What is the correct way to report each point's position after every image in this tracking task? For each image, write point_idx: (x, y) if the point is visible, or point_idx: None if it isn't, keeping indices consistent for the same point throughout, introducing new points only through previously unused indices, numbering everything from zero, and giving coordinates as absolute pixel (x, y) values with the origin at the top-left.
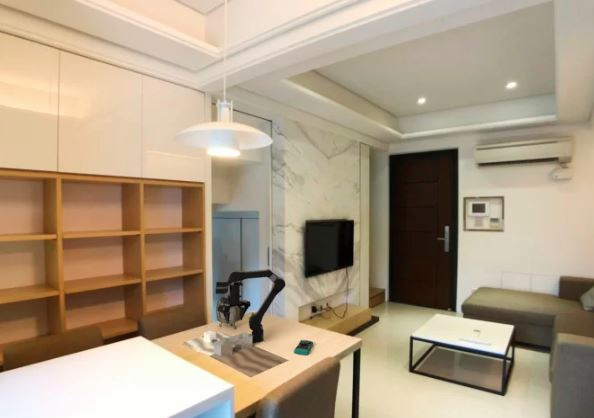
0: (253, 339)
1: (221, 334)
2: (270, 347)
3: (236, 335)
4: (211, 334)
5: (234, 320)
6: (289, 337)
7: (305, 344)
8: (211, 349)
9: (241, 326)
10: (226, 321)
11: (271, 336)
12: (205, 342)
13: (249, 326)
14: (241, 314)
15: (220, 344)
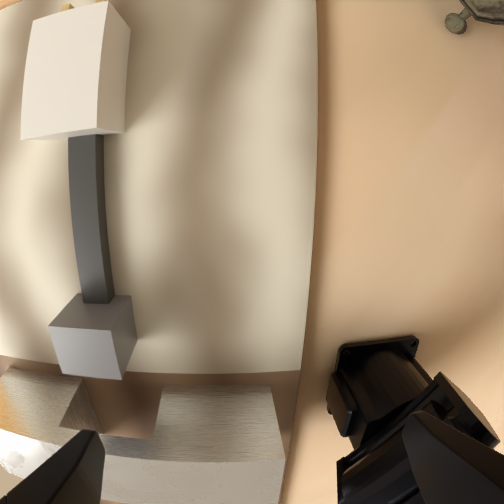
0: (334, 416)
1: (274, 31)
2: (349, 453)
3: (163, 466)
4: (41, 130)
5: (492, 14)
6: (490, 395)
7: None
8: (15, 286)
9: (500, 40)
10: (64, 463)
11: (482, 340)
12: None
13: (344, 492)
14: (449, 500)
15: (5, 465)
